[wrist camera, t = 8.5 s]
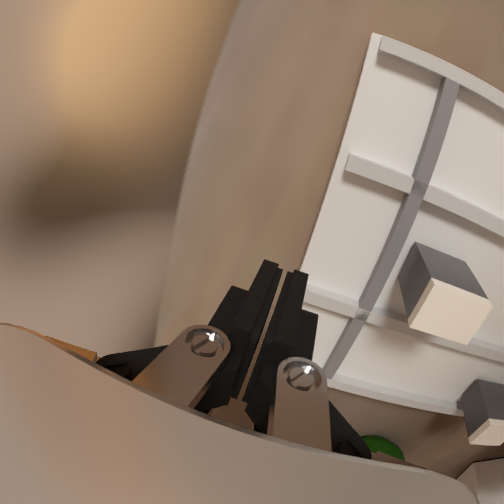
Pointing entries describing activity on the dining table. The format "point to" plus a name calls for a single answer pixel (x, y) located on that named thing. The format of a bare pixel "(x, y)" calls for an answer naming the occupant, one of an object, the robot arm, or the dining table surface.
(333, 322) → the board
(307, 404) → the robot arm
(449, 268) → the block
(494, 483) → the milk carton
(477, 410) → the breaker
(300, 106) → the dining table surface
